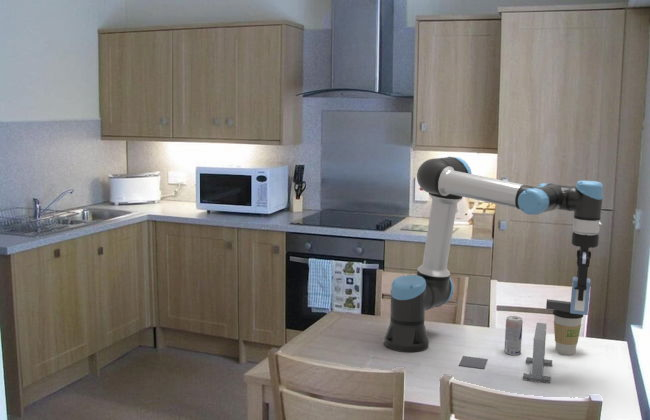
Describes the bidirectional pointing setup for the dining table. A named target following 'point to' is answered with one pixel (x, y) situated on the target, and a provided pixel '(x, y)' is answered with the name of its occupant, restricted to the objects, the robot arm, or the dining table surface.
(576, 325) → the coffee cup
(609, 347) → the dining table surface
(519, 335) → the energy drink
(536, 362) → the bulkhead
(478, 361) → the mat
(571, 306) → the plug
